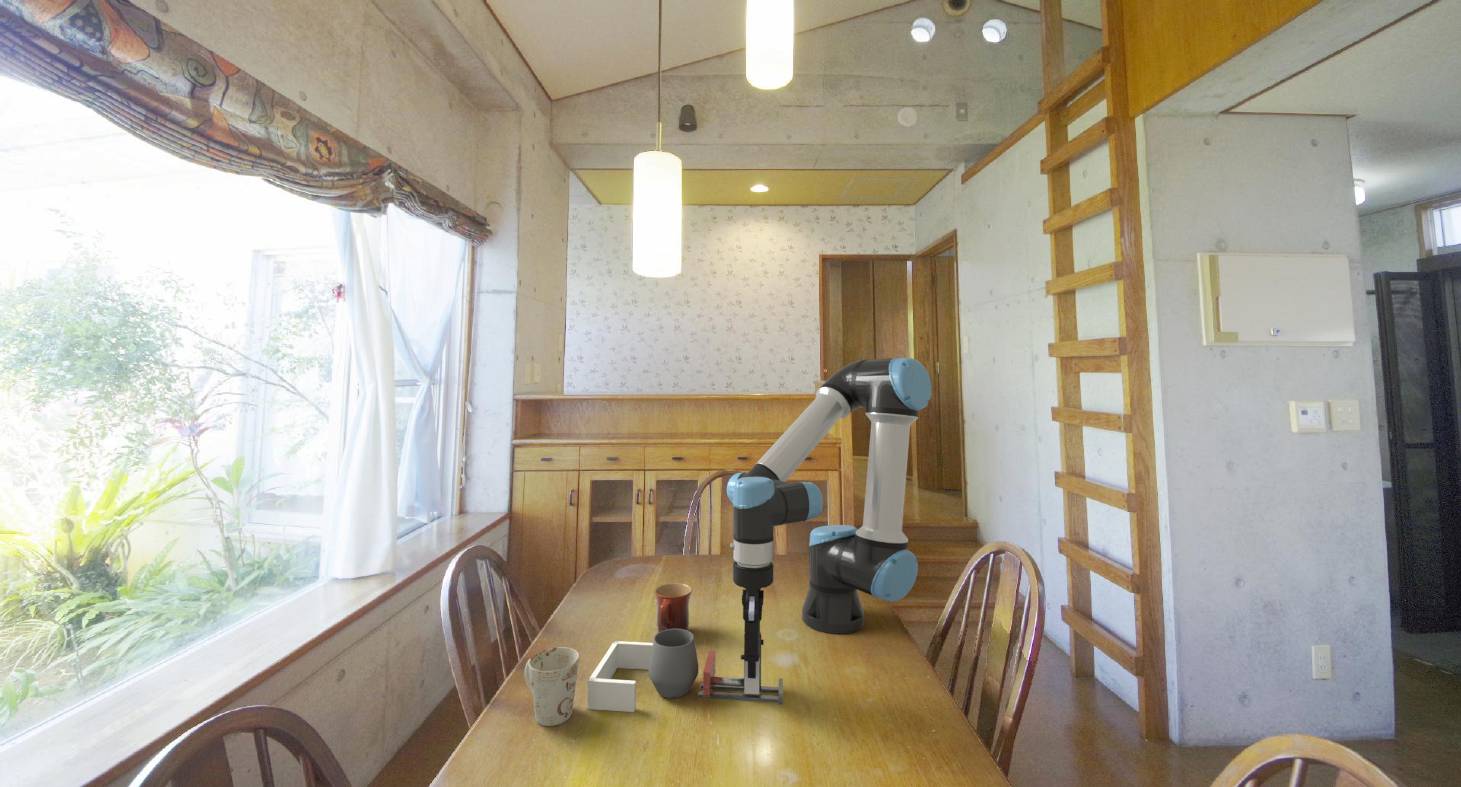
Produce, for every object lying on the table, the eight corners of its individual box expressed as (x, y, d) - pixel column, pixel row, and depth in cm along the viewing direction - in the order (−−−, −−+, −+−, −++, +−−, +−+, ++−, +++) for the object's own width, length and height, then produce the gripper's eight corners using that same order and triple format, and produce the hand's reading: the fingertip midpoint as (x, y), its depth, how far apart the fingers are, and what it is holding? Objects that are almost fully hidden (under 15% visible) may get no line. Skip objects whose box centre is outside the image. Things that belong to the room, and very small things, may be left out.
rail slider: (761, 677, 102) (762, 625, 102) (760, 701, 94) (760, 645, 94) (709, 674, 103) (709, 623, 103) (703, 698, 95) (703, 642, 95)
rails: (782, 689, 100) (782, 678, 100) (782, 704, 95) (782, 693, 95) (701, 684, 102) (701, 673, 102) (697, 699, 97) (697, 688, 97)
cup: (643, 682, 102) (643, 631, 102) (688, 672, 106) (689, 623, 106) (656, 709, 94) (656, 653, 94) (705, 698, 97) (705, 644, 97)
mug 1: (550, 737, 86) (550, 676, 86) (502, 712, 93) (502, 655, 93) (588, 711, 93) (589, 654, 93) (542, 689, 100) (542, 636, 100)
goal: (654, 667, 108) (654, 643, 108) (634, 712, 93) (634, 683, 93) (614, 665, 109) (614, 640, 109) (587, 709, 94) (587, 681, 94)
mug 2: (661, 623, 128) (661, 581, 128) (696, 627, 126) (696, 584, 126) (643, 647, 116) (643, 601, 116) (681, 651, 114) (681, 604, 114)
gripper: (736, 547, 107) (735, 663, 107) (729, 576, 90) (728, 712, 91) (773, 548, 106) (772, 665, 106) (772, 577, 90) (772, 714, 90)
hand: (752, 686), depth 98 cm, fingers closed on rail slider, 3 cm apart
